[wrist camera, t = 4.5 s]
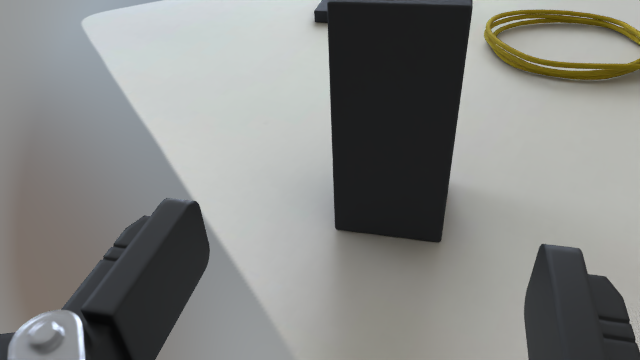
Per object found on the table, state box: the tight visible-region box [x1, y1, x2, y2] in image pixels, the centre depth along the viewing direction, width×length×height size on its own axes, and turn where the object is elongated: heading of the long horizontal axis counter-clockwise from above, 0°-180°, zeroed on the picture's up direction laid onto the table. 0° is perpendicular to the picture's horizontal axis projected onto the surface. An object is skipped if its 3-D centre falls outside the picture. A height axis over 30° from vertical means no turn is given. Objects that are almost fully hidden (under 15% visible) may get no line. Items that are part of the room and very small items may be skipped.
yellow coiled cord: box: [484, 10, 640, 80], centre depth 35 cm, size 12×16×2 cm
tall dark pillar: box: [327, 0, 472, 242], centre depth 21 cm, size 5×5×10 cm
